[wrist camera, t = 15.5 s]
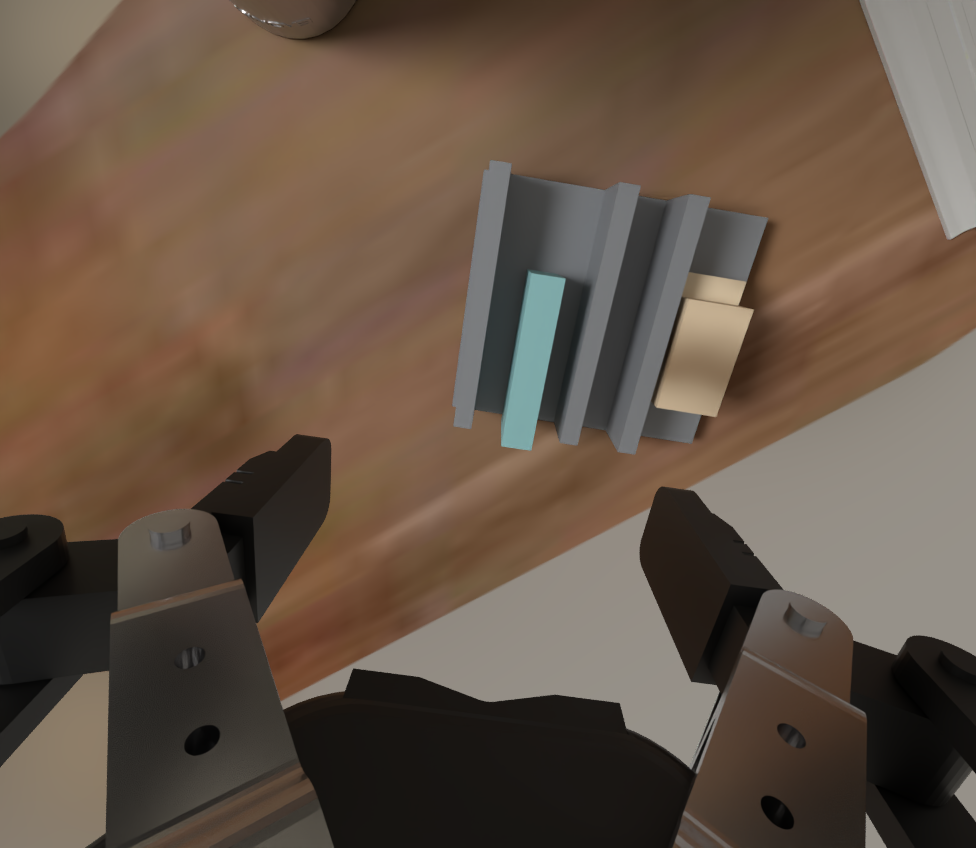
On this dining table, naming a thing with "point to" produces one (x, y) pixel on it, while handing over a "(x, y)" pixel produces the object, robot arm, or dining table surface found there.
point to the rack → (591, 297)
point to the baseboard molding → (934, 94)
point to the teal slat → (531, 357)
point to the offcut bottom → (713, 288)
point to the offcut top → (700, 356)
